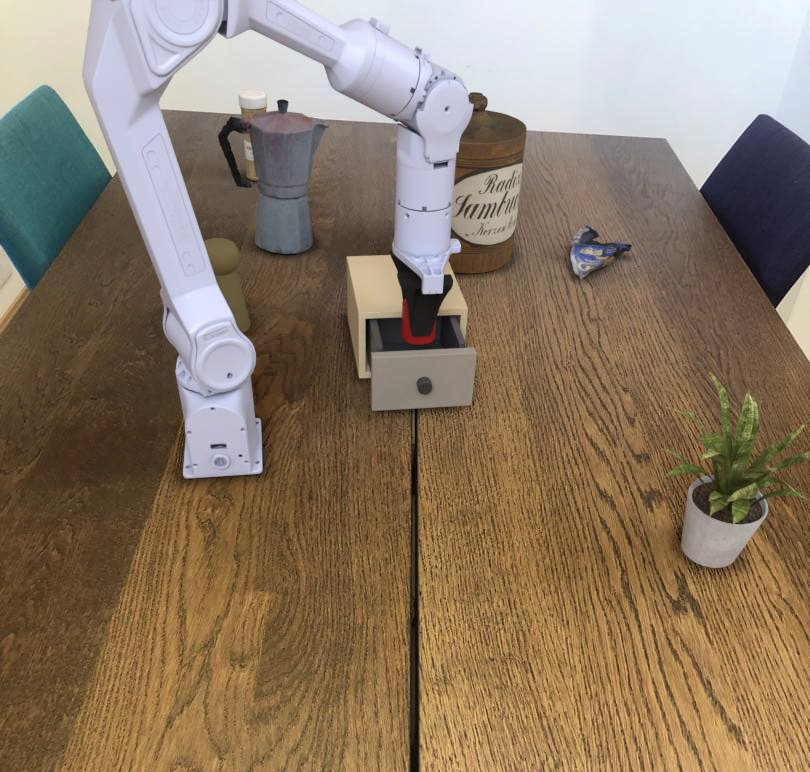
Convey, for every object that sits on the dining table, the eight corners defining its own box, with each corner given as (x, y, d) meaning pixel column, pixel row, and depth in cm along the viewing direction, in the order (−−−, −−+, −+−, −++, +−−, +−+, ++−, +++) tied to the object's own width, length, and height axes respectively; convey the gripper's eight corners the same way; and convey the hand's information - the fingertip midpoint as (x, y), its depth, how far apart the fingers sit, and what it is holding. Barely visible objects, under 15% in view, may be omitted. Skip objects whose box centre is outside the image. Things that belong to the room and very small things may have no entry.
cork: (241, 339, 103) (231, 255, 96) (196, 333, 104) (182, 249, 97) (257, 316, 108) (248, 234, 100) (213, 311, 108) (202, 229, 101)
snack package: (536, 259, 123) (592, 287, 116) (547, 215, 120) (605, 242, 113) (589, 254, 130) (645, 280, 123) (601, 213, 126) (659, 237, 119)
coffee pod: (437, 344, 90) (440, 310, 87) (403, 345, 90) (404, 312, 87) (432, 326, 93) (434, 294, 90) (398, 328, 92) (399, 295, 90)
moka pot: (340, 250, 123) (337, 106, 109) (239, 264, 119) (223, 115, 105) (321, 225, 129) (316, 86, 116) (225, 237, 125) (207, 94, 111)
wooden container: (459, 284, 116) (473, 117, 101) (394, 247, 124) (398, 88, 109) (532, 257, 123) (555, 98, 108) (466, 225, 132) (478, 72, 116)
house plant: (595, 510, 82) (631, 368, 70) (710, 482, 85) (762, 343, 74) (677, 611, 72) (734, 466, 61) (803, 575, 76) (879, 431, 65)
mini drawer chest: (462, 373, 99) (468, 308, 93) (359, 378, 98) (358, 312, 92) (441, 314, 110) (445, 252, 104) (347, 318, 108) (346, 256, 102)
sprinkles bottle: (251, 183, 141) (243, 98, 132) (242, 174, 144) (234, 90, 135) (276, 179, 143) (270, 95, 134) (267, 170, 146) (260, 87, 137)
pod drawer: (473, 411, 92) (479, 358, 87) (373, 417, 90) (373, 363, 86) (449, 344, 102) (453, 294, 98) (359, 348, 101) (359, 297, 96)
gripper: (478, 229, 76) (466, 357, 86) (450, 173, 87) (442, 292, 96) (404, 231, 75) (399, 360, 85) (384, 174, 86) (382, 294, 95)
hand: (418, 324), depth 90 cm, fingers closed on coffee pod, 4 cm apart
